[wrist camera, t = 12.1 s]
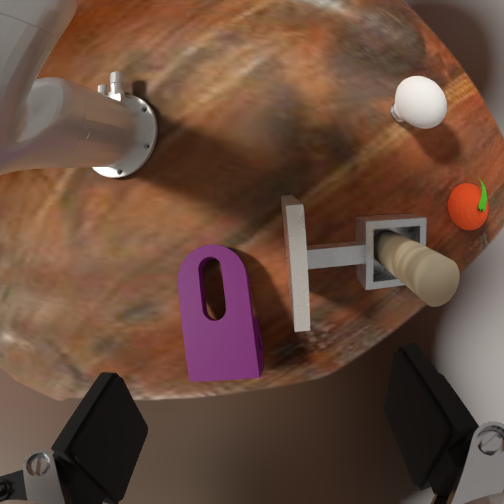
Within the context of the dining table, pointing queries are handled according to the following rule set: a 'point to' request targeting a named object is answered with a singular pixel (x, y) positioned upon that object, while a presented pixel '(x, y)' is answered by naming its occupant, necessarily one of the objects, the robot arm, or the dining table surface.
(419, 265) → the maple peg
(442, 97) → the light bulb
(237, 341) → the mounting bracket
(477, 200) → the clementine
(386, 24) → the dining table surface
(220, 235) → the dining table surface
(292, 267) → the cup bracket
